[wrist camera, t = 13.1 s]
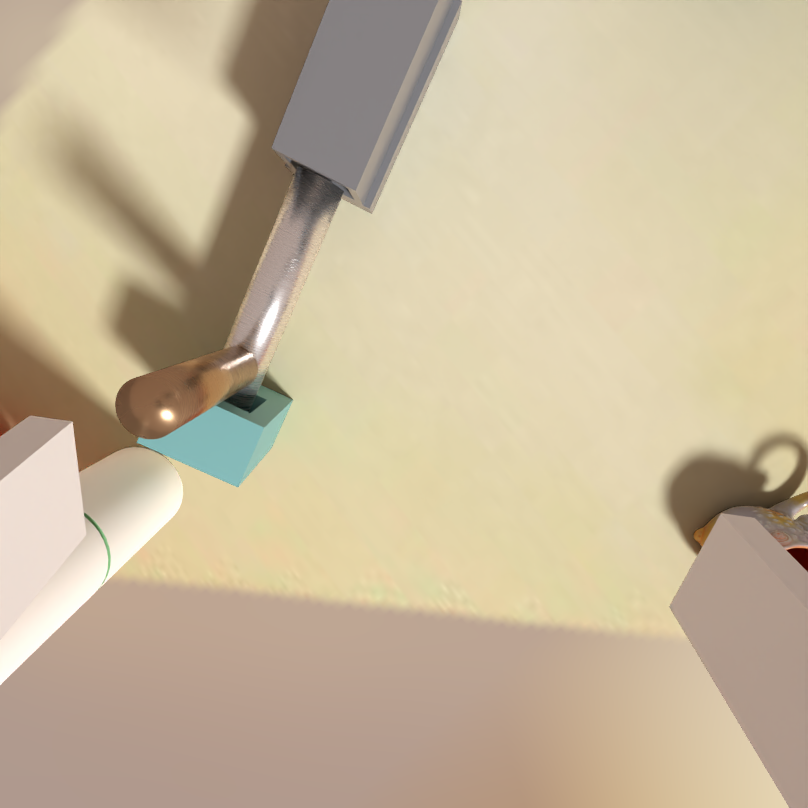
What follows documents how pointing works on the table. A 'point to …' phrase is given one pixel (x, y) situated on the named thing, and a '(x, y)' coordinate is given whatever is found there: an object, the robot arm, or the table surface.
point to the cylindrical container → (99, 542)
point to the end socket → (227, 437)
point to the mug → (774, 525)
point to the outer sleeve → (363, 90)
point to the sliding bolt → (240, 323)
